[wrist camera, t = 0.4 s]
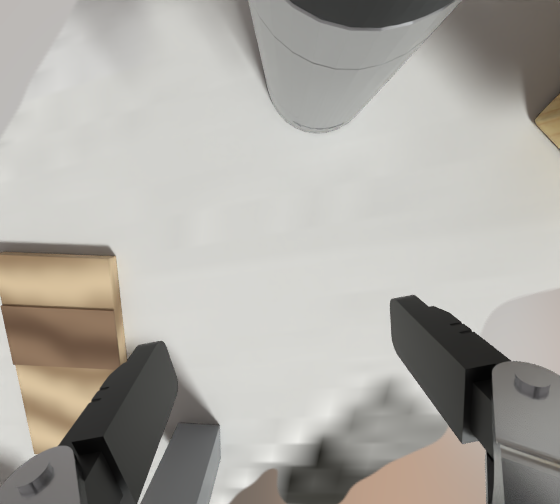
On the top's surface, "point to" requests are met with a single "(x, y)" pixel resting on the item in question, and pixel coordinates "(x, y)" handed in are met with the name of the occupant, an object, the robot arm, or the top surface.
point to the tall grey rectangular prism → (187, 467)
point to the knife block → (551, 121)
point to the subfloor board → (60, 334)
